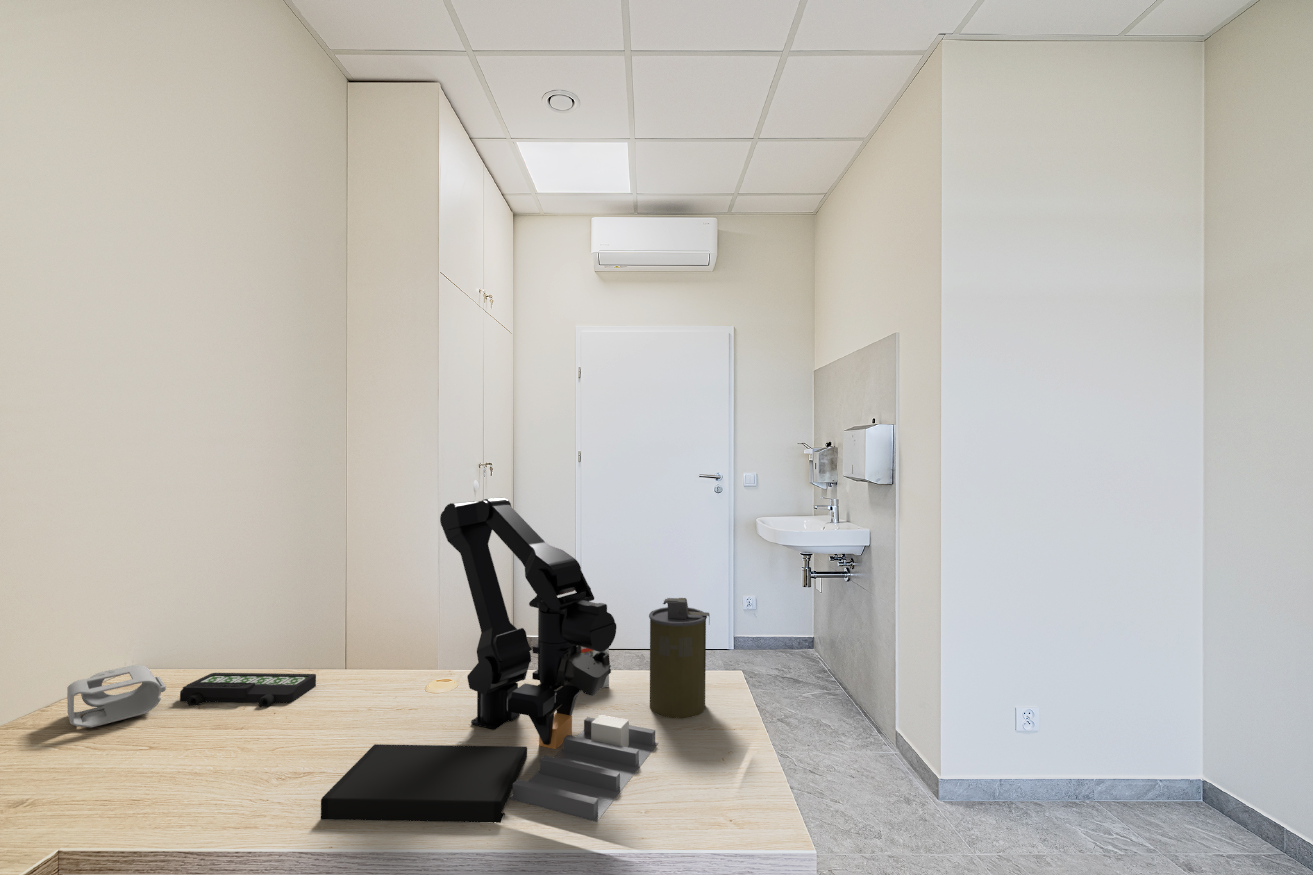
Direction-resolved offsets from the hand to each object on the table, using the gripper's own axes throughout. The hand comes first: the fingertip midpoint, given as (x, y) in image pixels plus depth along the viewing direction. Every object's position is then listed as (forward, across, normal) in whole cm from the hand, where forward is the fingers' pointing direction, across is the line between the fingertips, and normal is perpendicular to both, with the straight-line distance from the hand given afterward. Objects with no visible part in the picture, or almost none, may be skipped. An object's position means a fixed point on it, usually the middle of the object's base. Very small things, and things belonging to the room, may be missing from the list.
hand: (555, 736), depth 96 cm
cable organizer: (+2, -19, +78) cm, 80 cm away
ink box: (+2, +22, +6) cm, 23 cm away
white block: (0, +1, -9) cm, 9 cm away
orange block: (+2, 0, 0) cm, 2 cm away
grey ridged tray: (+2, -6, -9) cm, 11 cm away
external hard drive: (+2, -17, +10) cm, 19 cm away
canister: (+2, +19, -14) cm, 24 cm away
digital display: (+2, -5, +64) cm, 65 cm away
